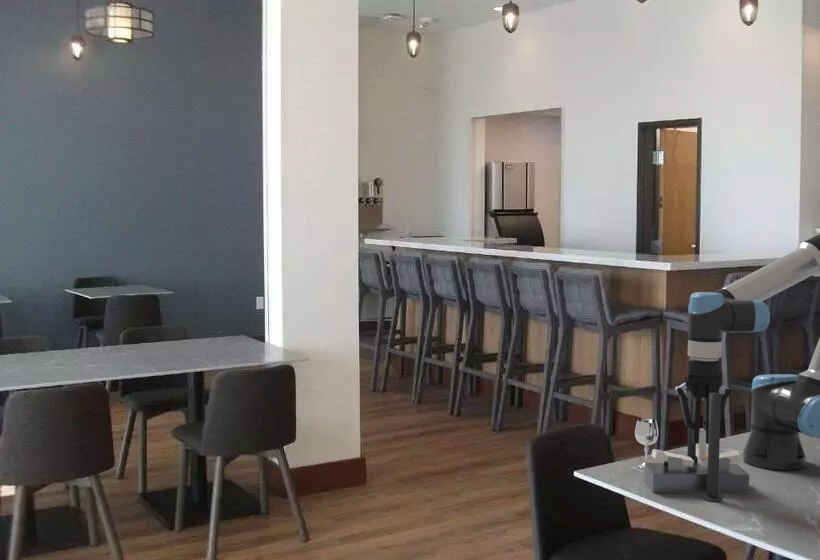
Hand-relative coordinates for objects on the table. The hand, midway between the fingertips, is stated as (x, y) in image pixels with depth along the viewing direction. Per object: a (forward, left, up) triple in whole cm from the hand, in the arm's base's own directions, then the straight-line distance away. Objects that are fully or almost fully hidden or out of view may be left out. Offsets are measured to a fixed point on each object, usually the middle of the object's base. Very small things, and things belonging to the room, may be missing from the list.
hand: (700, 456), depth 214 cm
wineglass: (+9, -17, -8) cm, 21 cm away
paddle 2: (-4, 0, 0) cm, 5 cm away
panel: (+1, 0, -7) cm, 7 cm away
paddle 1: (+7, 0, 0) cm, 7 cm away
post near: (0, +9, -7) cm, 12 cm away
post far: (0, -9, -7) cm, 12 cm away
